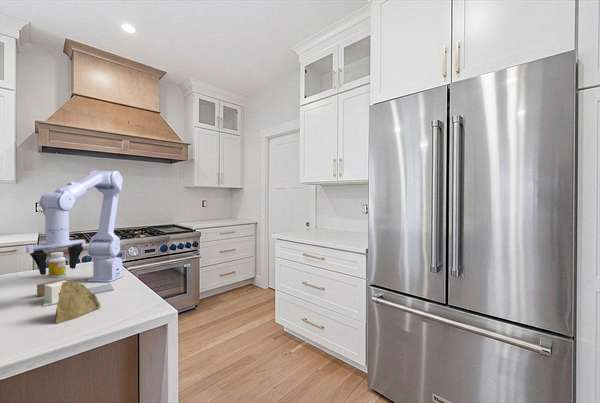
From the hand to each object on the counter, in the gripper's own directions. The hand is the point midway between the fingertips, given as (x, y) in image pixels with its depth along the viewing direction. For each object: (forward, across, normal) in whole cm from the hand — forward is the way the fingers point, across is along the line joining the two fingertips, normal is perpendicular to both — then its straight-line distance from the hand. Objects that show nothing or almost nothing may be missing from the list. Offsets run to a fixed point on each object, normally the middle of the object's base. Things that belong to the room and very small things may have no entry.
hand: (58, 271), depth 88 cm
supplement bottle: (+10, -12, -32) cm, 35 cm away
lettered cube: (+9, 0, 0) cm, 9 cm away
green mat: (+10, 0, 0) cm, 10 cm away
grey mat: (+10, -12, +1) cm, 15 cm away
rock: (+10, +2, +18) cm, 20 cm away
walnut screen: (+10, -2, -8) cm, 13 cm away
